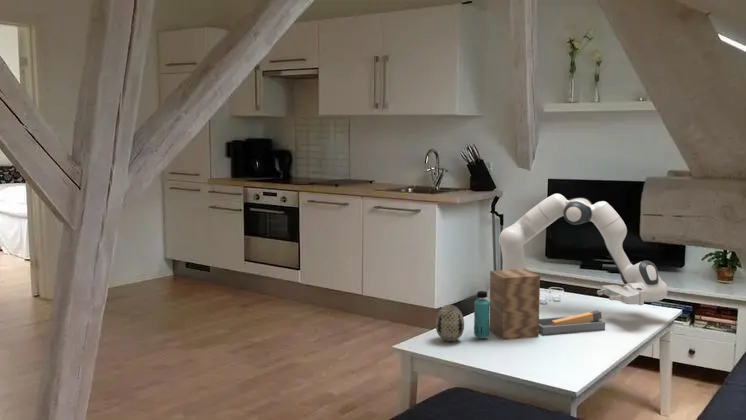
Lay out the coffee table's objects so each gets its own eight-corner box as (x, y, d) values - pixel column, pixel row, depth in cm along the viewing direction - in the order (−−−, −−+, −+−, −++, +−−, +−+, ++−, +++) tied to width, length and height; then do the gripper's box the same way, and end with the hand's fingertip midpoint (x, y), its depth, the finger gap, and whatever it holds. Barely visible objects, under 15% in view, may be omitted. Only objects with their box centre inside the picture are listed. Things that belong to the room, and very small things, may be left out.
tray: (590, 322, 313) (590, 314, 313) (605, 330, 302) (605, 322, 301) (530, 327, 307) (530, 319, 306) (542, 335, 295) (543, 327, 295)
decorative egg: (429, 340, 290) (429, 304, 288) (449, 334, 298) (449, 299, 296) (450, 347, 281) (450, 310, 279) (470, 341, 289) (470, 305, 287)
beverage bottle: (489, 336, 295) (489, 289, 292) (490, 341, 288) (490, 293, 285) (473, 336, 295) (473, 289, 293) (473, 341, 289) (474, 293, 286)
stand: (523, 327, 307) (525, 268, 304) (538, 336, 294) (540, 275, 290) (489, 329, 303) (490, 270, 300) (502, 340, 290) (503, 278, 286)
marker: (597, 316, 309) (597, 310, 308) (601, 318, 306) (601, 312, 305) (552, 327, 304) (551, 320, 303) (555, 329, 301) (555, 322, 301)
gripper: (618, 280, 319) (591, 282, 316) (646, 291, 299) (617, 294, 296) (618, 294, 320) (590, 296, 317) (645, 306, 300) (616, 308, 297)
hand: (603, 295), depth 306 cm, fingers open, 8 cm apart
